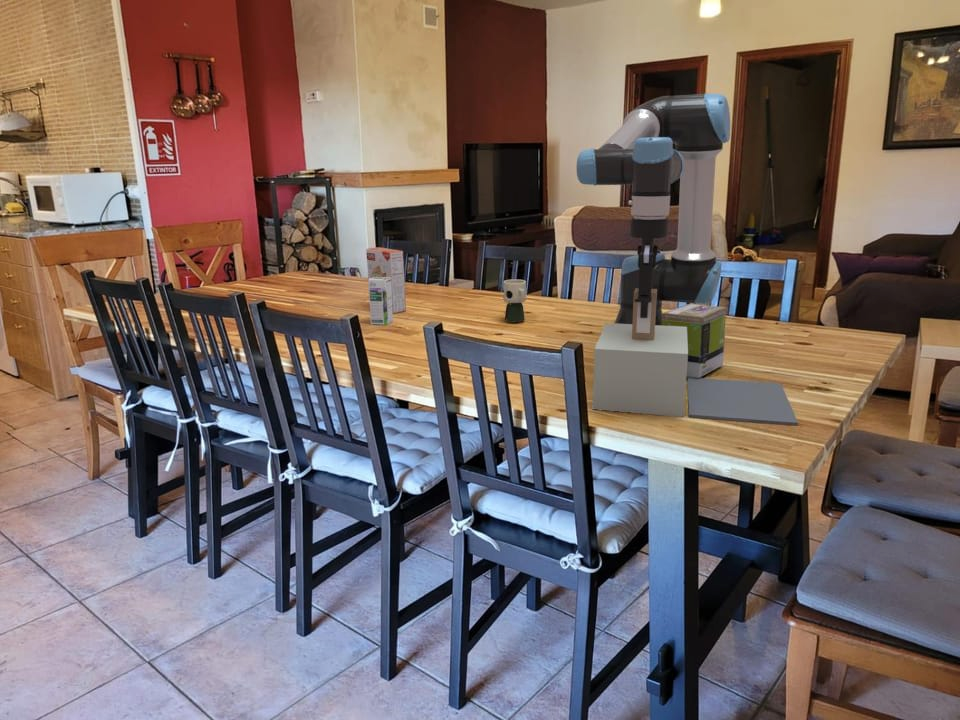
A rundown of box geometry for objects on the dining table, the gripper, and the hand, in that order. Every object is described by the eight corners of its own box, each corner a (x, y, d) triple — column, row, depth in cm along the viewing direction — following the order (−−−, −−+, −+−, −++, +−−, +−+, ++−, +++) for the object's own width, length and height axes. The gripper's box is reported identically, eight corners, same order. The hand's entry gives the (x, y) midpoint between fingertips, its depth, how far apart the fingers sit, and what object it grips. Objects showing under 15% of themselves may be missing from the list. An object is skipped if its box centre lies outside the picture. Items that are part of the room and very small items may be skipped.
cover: (603, 376, 165) (607, 280, 158) (683, 381, 160) (689, 282, 154) (592, 409, 143) (596, 299, 137) (683, 416, 139) (691, 303, 132)
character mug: (496, 319, 224) (496, 279, 220) (516, 317, 227) (516, 277, 223) (513, 326, 215) (512, 284, 211) (533, 324, 218) (533, 282, 214)
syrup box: (370, 324, 220) (367, 279, 216) (377, 320, 226) (374, 276, 222) (387, 325, 219) (384, 279, 215) (393, 321, 224) (391, 276, 220)
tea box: (684, 360, 177) (688, 302, 173) (723, 366, 171) (728, 306, 167) (658, 372, 166) (661, 310, 162) (699, 379, 159) (704, 315, 156)
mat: (687, 379, 162) (687, 377, 161) (780, 385, 156) (780, 383, 156) (688, 417, 139) (689, 414, 138) (797, 425, 133) (798, 422, 133)
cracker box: (368, 308, 244) (365, 248, 239) (383, 305, 248) (379, 246, 242) (392, 314, 234) (388, 251, 229) (406, 311, 238) (403, 250, 232)
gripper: (633, 213, 150) (628, 319, 157) (627, 221, 134) (622, 338, 140) (669, 214, 148) (662, 321, 155) (667, 221, 132) (660, 340, 139)
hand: (643, 329), depth 148 cm, fingers closed on cover, 4 cm apart
